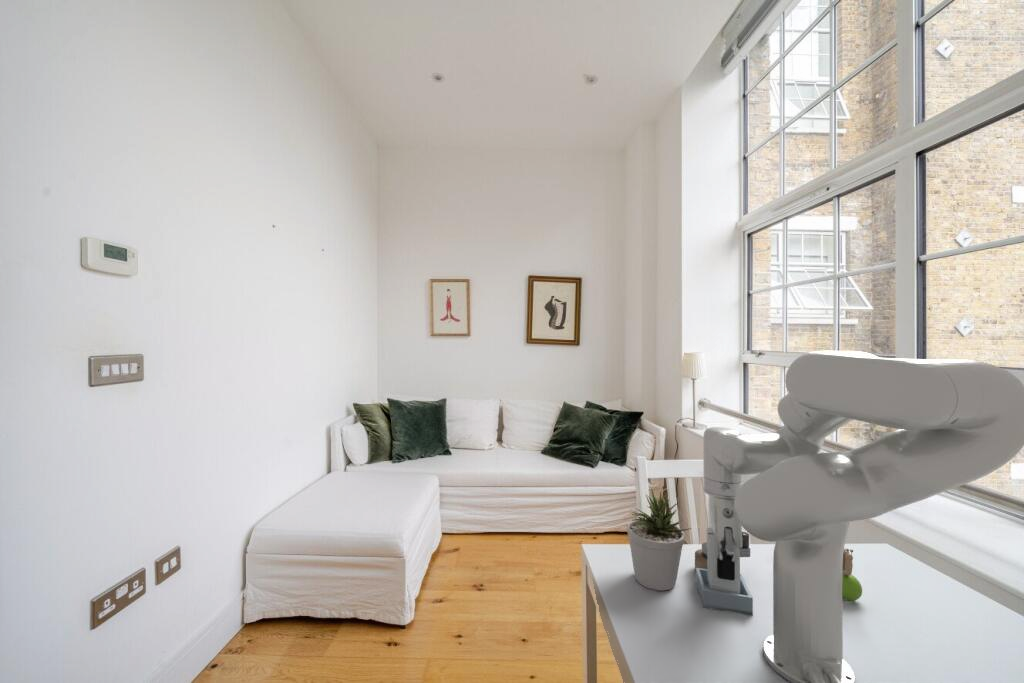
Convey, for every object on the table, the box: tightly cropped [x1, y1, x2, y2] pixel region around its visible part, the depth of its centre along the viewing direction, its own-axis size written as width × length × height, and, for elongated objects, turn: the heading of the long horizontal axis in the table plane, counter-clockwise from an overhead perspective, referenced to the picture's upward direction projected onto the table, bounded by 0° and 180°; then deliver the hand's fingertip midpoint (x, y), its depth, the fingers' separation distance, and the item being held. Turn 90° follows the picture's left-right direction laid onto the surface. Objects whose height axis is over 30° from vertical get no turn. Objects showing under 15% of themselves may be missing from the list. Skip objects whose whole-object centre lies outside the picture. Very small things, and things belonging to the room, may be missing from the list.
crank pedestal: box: [694, 548, 708, 573], centre depth 99 cm, size 9×8×4 cm
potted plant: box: [626, 489, 692, 591], centre depth 95 cm, size 13×14×20 cm
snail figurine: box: [842, 548, 863, 602], centre depth 89 cm, size 5×6×12 cm
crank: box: [701, 531, 751, 558], centre depth 99 cm, size 11×5×5 cm, turn 94°
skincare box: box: [706, 527, 741, 594], centre depth 89 cm, size 6×4×12 cm
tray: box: [695, 568, 754, 616], centre depth 89 cm, size 9×9×4 cm
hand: (723, 571), depth 89 cm, fingers closed on skincare box, 4 cm apart
